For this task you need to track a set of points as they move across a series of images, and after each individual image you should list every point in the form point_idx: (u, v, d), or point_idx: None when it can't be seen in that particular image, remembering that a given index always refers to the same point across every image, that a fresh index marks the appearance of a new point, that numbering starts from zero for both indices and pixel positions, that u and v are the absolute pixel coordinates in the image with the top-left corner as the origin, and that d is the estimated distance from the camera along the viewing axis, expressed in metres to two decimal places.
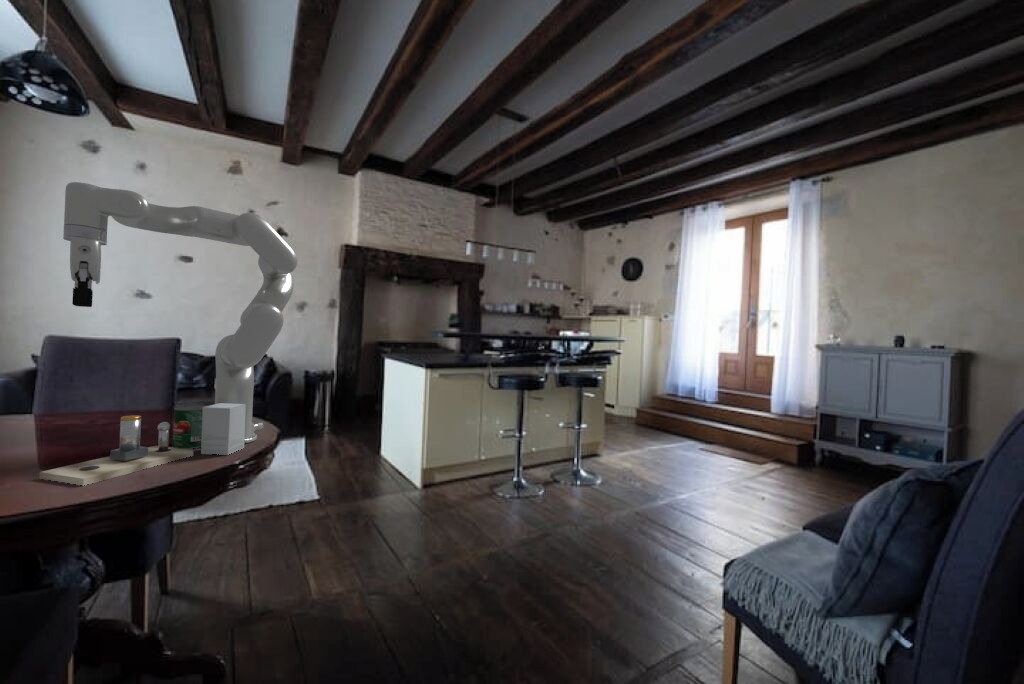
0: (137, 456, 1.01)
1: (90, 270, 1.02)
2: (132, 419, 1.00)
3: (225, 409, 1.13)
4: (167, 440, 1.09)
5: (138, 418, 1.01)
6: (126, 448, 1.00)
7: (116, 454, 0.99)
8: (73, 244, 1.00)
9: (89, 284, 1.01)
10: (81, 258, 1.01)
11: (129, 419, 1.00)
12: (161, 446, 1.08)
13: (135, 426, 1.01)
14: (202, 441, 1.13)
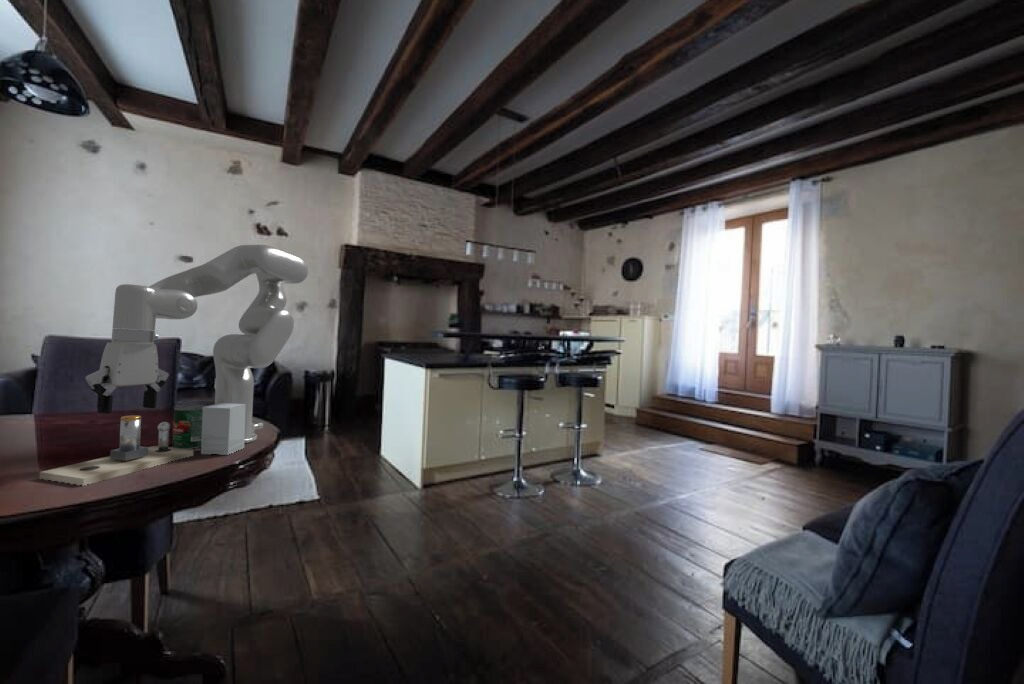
0: (137, 456, 1.01)
1: None
2: (132, 419, 1.00)
3: (225, 409, 1.13)
4: (167, 440, 1.09)
5: (138, 418, 1.01)
6: (126, 448, 1.00)
7: (116, 454, 0.99)
8: (156, 350, 1.05)
9: None
10: None
11: (129, 419, 1.00)
12: (161, 446, 1.08)
13: (135, 426, 1.01)
14: (202, 441, 1.13)
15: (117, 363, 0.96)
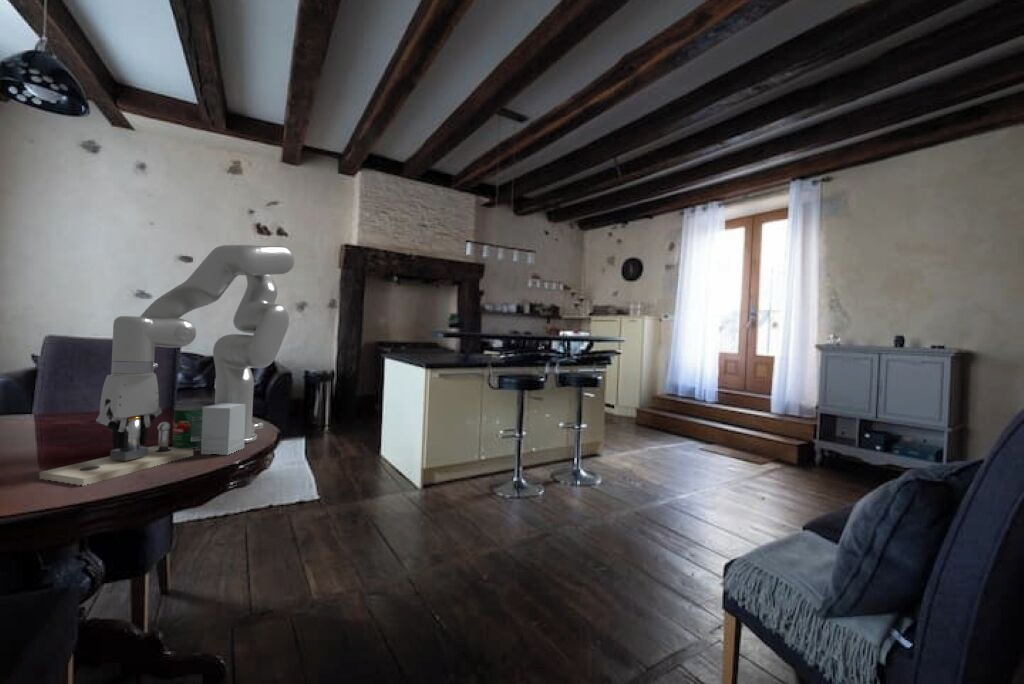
0: (137, 456, 1.01)
1: None
2: (132, 419, 1.00)
3: (225, 409, 1.13)
4: (167, 440, 1.09)
5: (138, 418, 1.01)
6: (126, 448, 1.00)
7: (116, 454, 0.99)
8: (156, 380, 1.05)
9: None
10: None
11: (129, 419, 1.00)
12: (161, 446, 1.08)
13: (135, 426, 1.01)
14: (202, 441, 1.13)
15: (118, 396, 0.97)
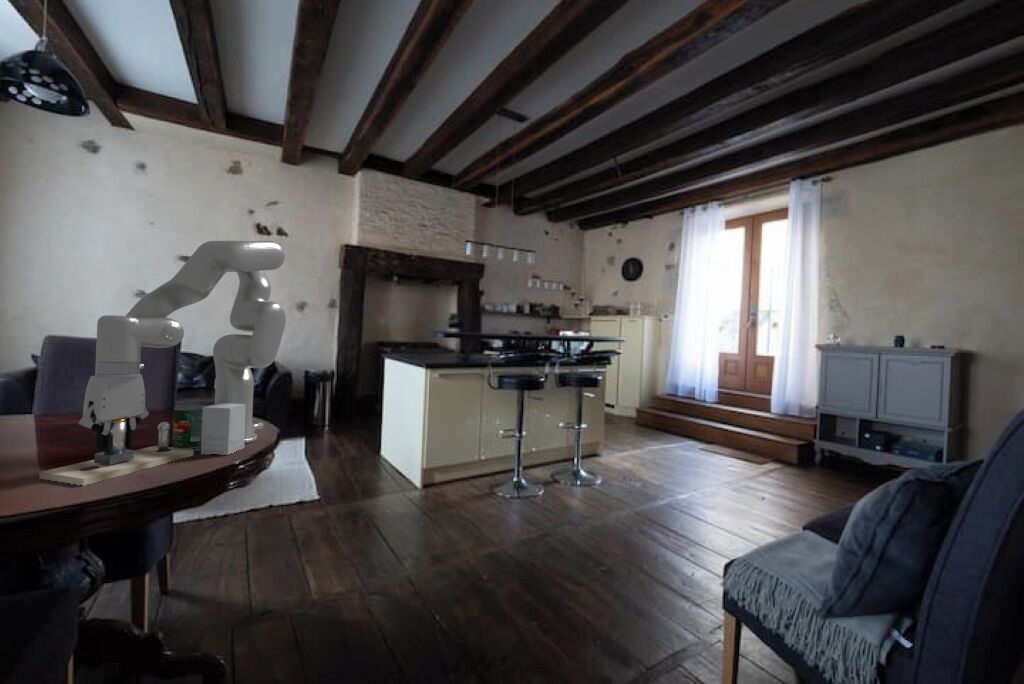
0: (122, 460, 0.98)
1: None
2: (117, 421, 0.97)
3: (225, 409, 1.13)
4: (167, 440, 1.09)
5: (123, 420, 0.98)
6: (111, 451, 0.97)
7: (100, 458, 0.96)
8: (142, 381, 1.02)
9: None
10: None
11: (114, 421, 0.97)
12: (161, 446, 1.08)
13: (120, 428, 0.98)
14: (202, 441, 1.13)
15: (102, 398, 0.94)
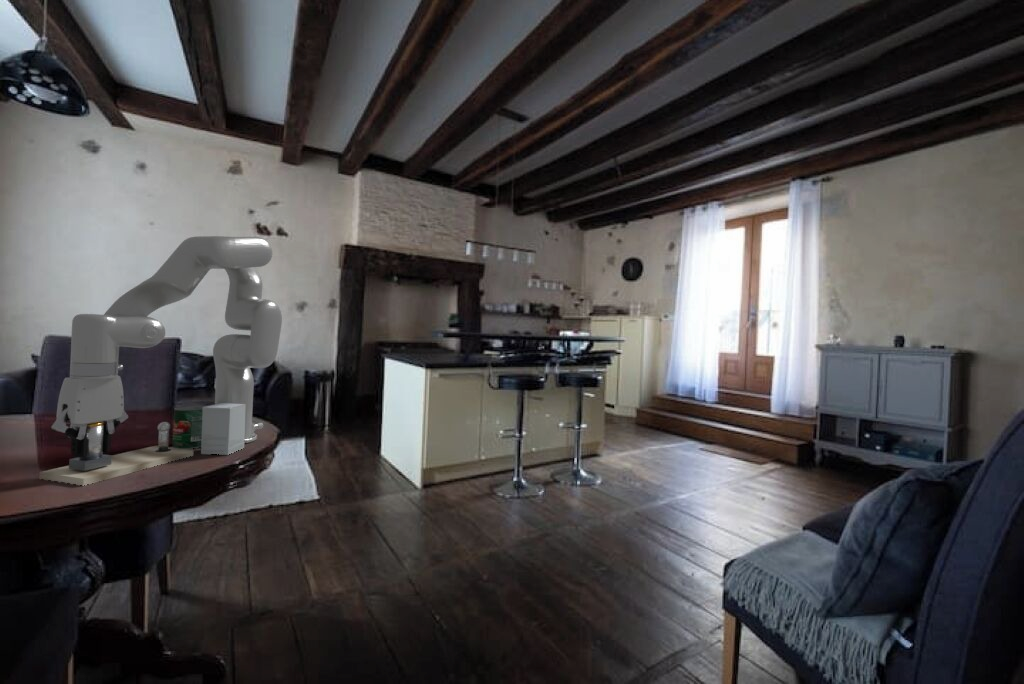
0: (99, 465, 0.93)
1: None
2: (93, 425, 0.93)
3: (225, 409, 1.13)
4: (167, 440, 1.09)
5: (100, 424, 0.94)
6: (86, 457, 0.92)
7: (75, 464, 0.91)
8: (121, 382, 0.97)
9: None
10: None
11: (90, 425, 0.92)
12: (161, 446, 1.08)
13: (97, 432, 0.93)
14: (202, 441, 1.13)
15: (76, 401, 0.89)
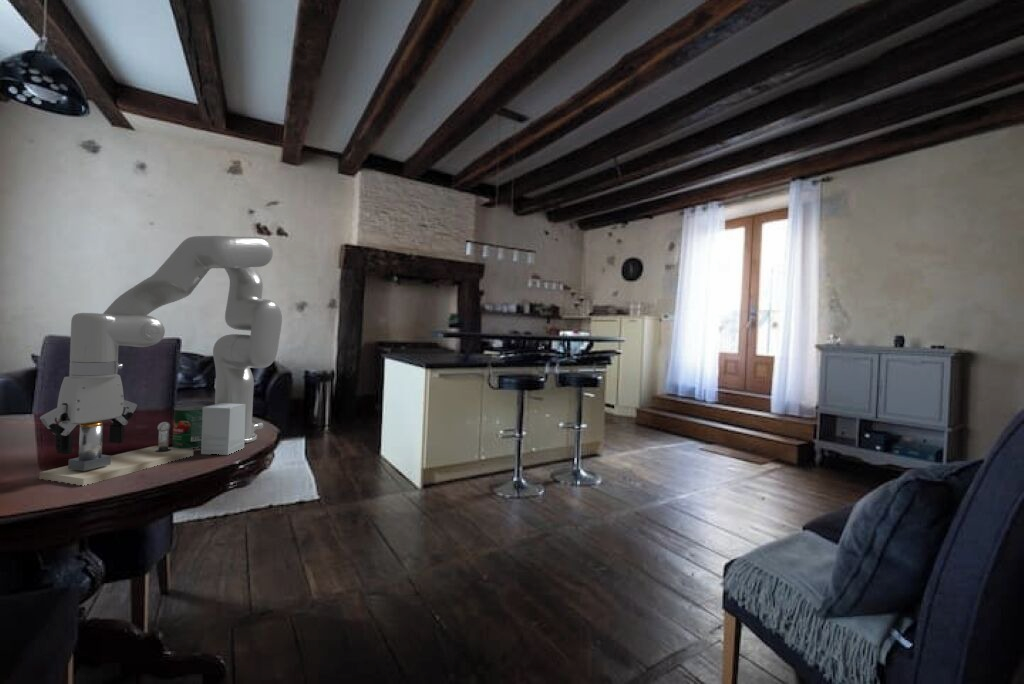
0: (98, 465, 0.93)
1: None
2: (92, 425, 0.92)
3: (225, 409, 1.13)
4: (167, 440, 1.09)
5: (99, 424, 0.94)
6: (86, 457, 0.92)
7: (74, 464, 0.91)
8: (121, 381, 0.97)
9: None
10: None
11: (89, 425, 0.92)
12: (161, 446, 1.08)
13: (96, 433, 0.93)
14: (202, 441, 1.13)
15: (76, 400, 0.89)
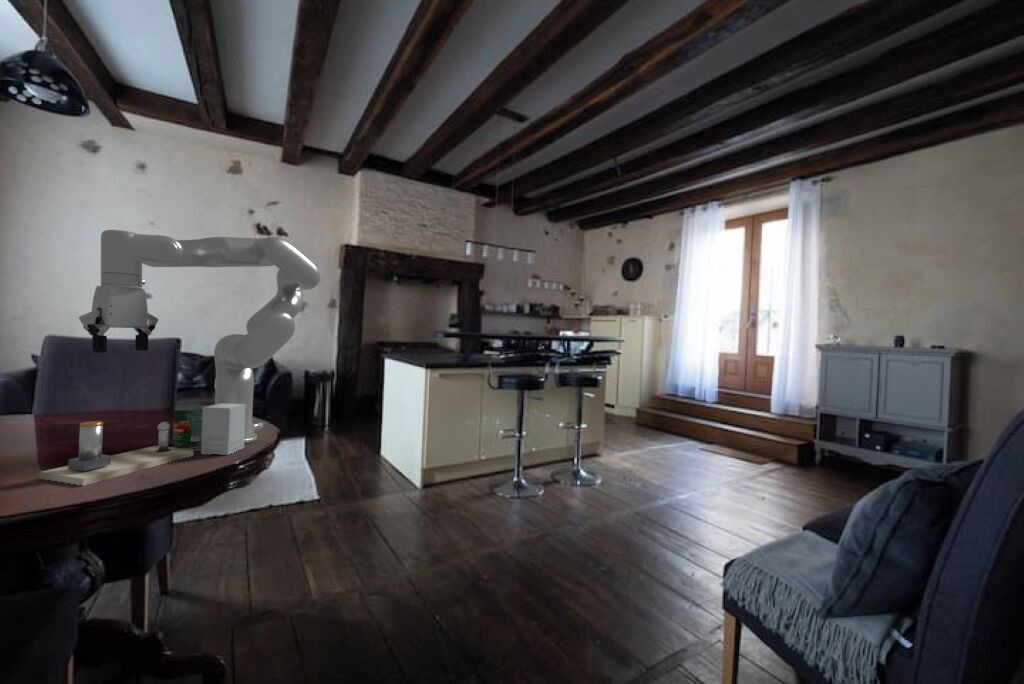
0: (98, 465, 0.93)
1: None
2: (92, 425, 0.92)
3: (225, 409, 1.13)
4: (167, 440, 1.09)
5: (99, 424, 0.94)
6: (86, 457, 0.92)
7: (74, 464, 0.91)
8: (145, 295, 1.09)
9: None
10: None
11: (89, 425, 0.92)
12: (161, 446, 1.08)
13: (96, 433, 0.93)
14: (202, 441, 1.13)
15: (109, 305, 1.01)
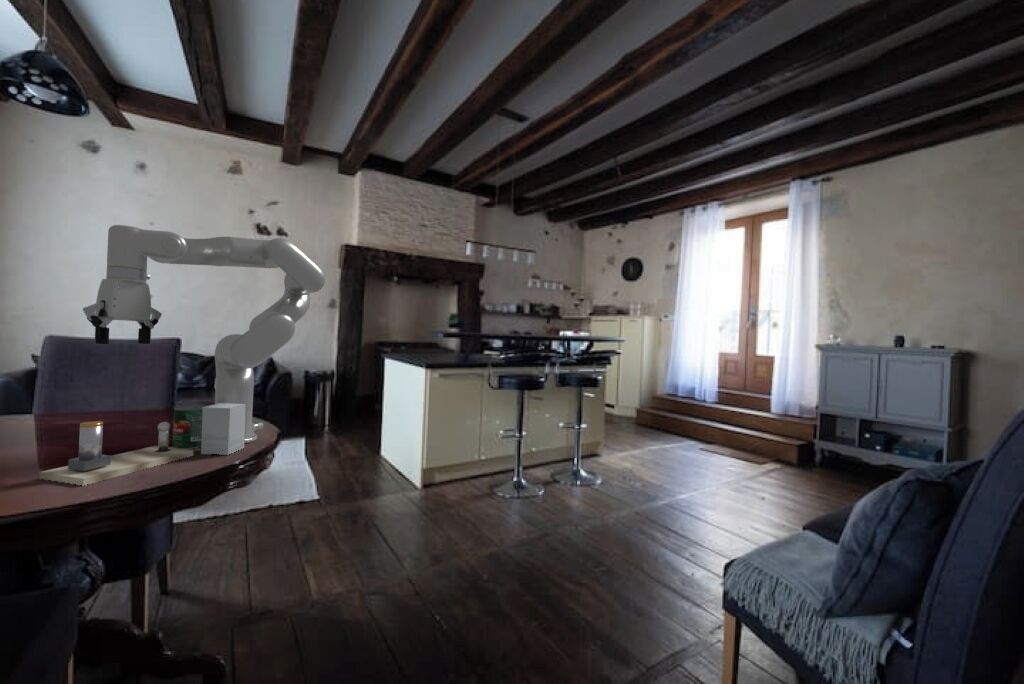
0: (98, 465, 0.93)
1: None
2: (92, 425, 0.92)
3: (225, 409, 1.13)
4: (167, 440, 1.09)
5: (99, 424, 0.94)
6: (86, 457, 0.92)
7: (74, 464, 0.91)
8: None
9: None
10: None
11: (89, 425, 0.92)
12: (161, 446, 1.08)
13: (96, 433, 0.93)
14: (202, 441, 1.13)
15: (112, 298, 1.03)
